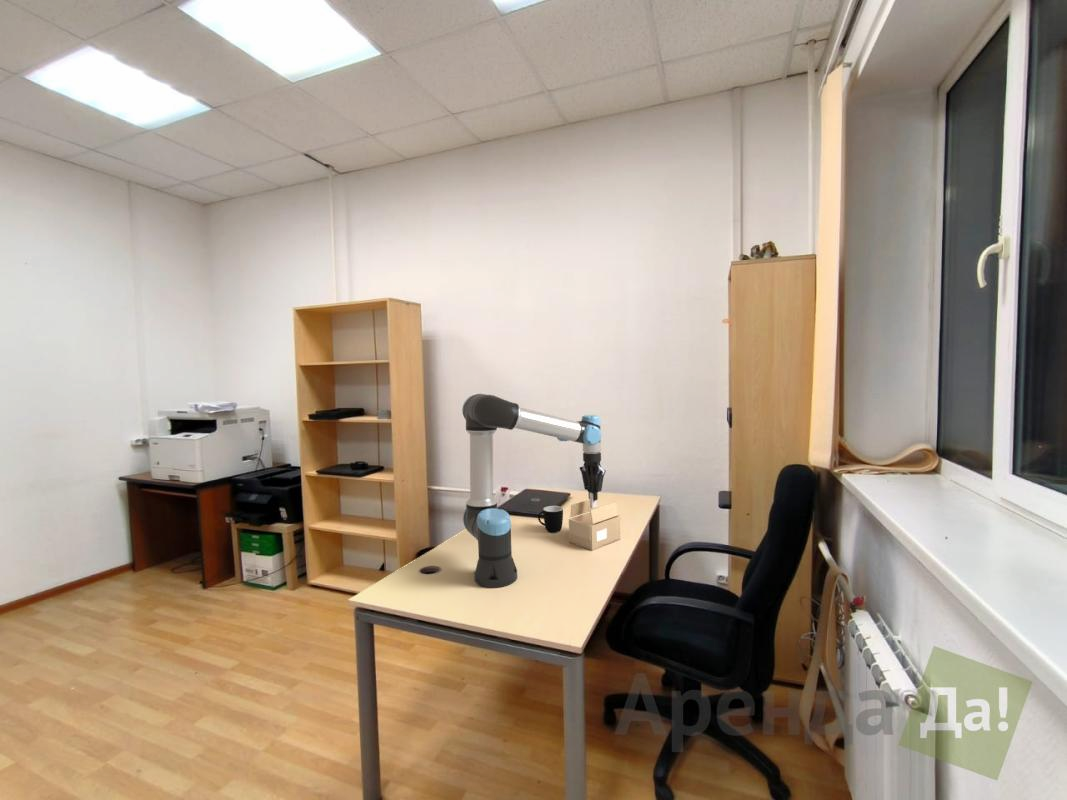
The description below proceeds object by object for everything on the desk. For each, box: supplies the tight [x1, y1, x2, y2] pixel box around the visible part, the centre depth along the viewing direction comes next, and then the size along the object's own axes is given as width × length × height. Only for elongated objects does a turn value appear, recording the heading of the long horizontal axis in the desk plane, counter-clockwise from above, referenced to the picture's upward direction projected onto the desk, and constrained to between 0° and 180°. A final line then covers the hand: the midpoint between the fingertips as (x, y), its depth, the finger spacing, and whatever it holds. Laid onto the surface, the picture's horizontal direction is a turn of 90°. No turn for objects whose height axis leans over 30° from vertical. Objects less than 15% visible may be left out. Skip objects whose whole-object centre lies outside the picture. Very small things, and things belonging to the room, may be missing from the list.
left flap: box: [569, 499, 598, 518], centre depth 200 cm, size 16×6×1 cm
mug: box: [537, 505, 564, 534], centre depth 212 cm, size 12×9×10 cm
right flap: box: [589, 501, 619, 524], centre depth 192 cm, size 16×6×1 cm
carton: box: [568, 512, 621, 552], centre depth 197 cm, size 18×13×10 cm
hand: (593, 507), depth 196 cm, fingers closed
